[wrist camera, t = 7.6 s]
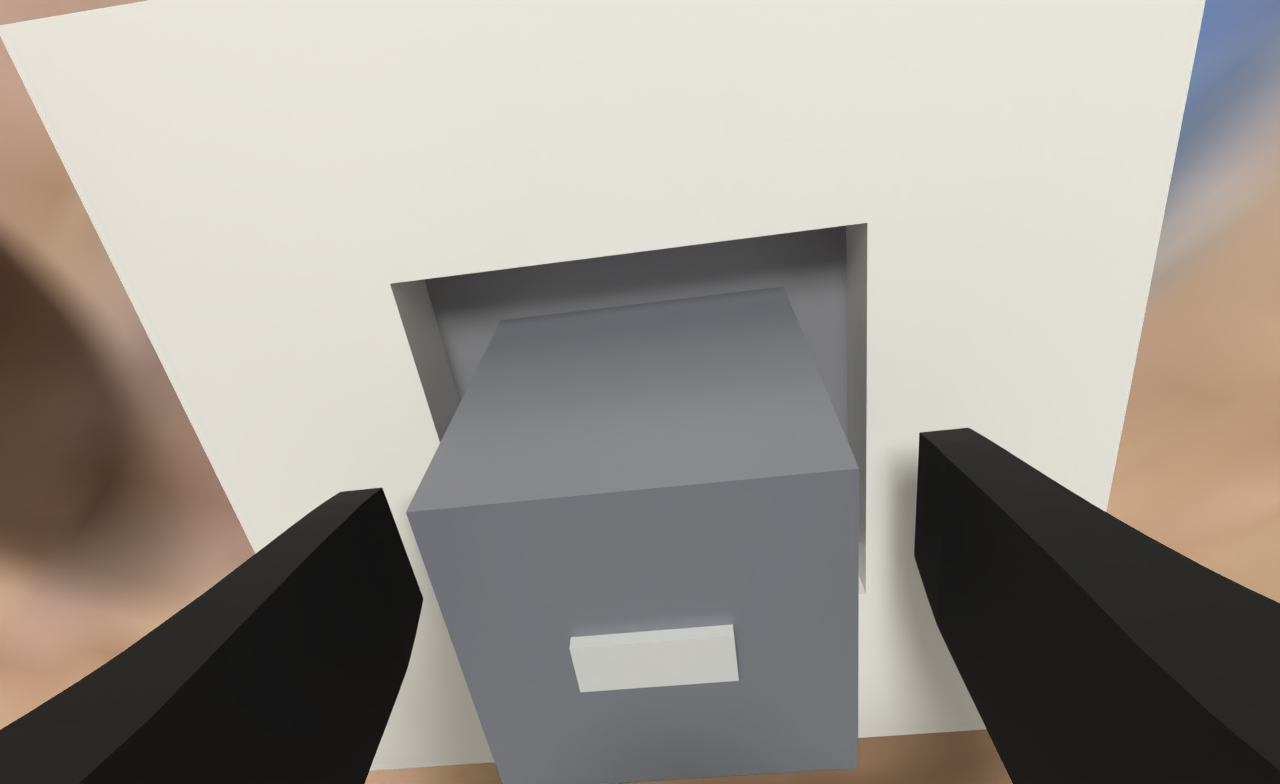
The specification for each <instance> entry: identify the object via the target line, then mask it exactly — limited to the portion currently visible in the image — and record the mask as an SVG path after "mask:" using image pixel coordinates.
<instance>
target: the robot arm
mask: <svg viewBox="0 0 1280 784" xmlns="http://www.w3.org/2000/svg"><path fill="white" fill-rule="evenodd" d="M914 557H915V561H916V564H917V567H918V570H919V573H920V576H921V579H922V583H923V586H924V589H925V592H926V595H927V598H928V601H929V604H930V607H931V609H932V612H933V615H934V618H935V621H936V624H937V626H938V629H939V631H940V633H941V635H942V637H943V639H944V641H945V644H946V646H947V648H948V650H949V652H950V654H951V656H952V658H953V660H954V662H955V665H956V667H957V669H958V671H959V673H960V675H961V677H962V679H963V681H964V683H965V686H966V688H967V690H968V692H969V694H970V696H971V698H972V700H973V702H974V704H975V706H976V708H977V710H978V712H979V714H980V716H981V719H982V721H983V723H984V725H985V727H986V729H987V731H988V733H989V735H990V737H991V739H992V741H993V743H994V745H995V747H996V749H997V752H998V754H999V756H1000V758H1001V760H1002V762H1003V764H1004V766H1005V768H1006V770H1007V772H1008V774H1009V776H1010V778H1011V780H1012V783H1013V784H1280V603H1278V602H1276V601H1274V600H1271V599H1269V598H1267V597H1265V596H1263V595H1261V594H1259V593H1256V592H1254V591H1252V590H1250V589H1248V588H1246V587H1244V586H1242V585H1240V584H1238V583H1236V582H1234V581H1232V580H1230V579H1227V578H1225V577H1223V576H1221V575H1219V574H1217V573H1215V572H1213V571H1212V570H1210V569H1208V568H1206V567H1204V566H1202V565H1200V564H1198V563H1196V562H1195V561H1193V560H1191V559H1189V558H1187V557H1185V556H1183V555H1182V554H1180V553H1178V552H1176V551H1174V550H1172V549H1170V548H1169V547H1167V546H1165V545H1163V544H1161V543H1159V542H1157V541H1156V540H1154V539H1152V538H1150V537H1148V536H1146V535H1145V534H1143V533H1141V532H1139V531H1138V530H1136V529H1134V528H1132V527H1131V526H1129V525H1127V524H1125V523H1124V522H1122V521H1120V520H1118V519H1117V518H1115V517H1113V516H1112V515H1110V514H1108V513H1107V512H1105V511H1103V510H1101V509H1100V508H1098V507H1096V506H1095V505H1093V504H1091V503H1090V502H1088V501H1087V500H1085V499H1083V498H1082V497H1080V496H1078V495H1077V494H1075V493H1073V492H1072V491H1070V490H1069V489H1067V488H1065V487H1064V486H1062V485H1061V484H1059V483H1057V482H1056V481H1054V480H1052V479H1051V478H1049V477H1048V476H1046V475H1045V474H1043V473H1041V472H1040V471H1038V470H1037V469H1035V468H1034V467H1032V466H1030V465H1029V464H1027V463H1026V462H1024V461H1022V460H1021V459H1019V458H1018V457H1016V456H1015V455H1013V454H1011V453H1010V452H1008V451H1007V450H1005V449H1004V448H1002V447H1000V446H999V445H997V444H996V443H994V442H992V441H991V440H989V439H987V438H986V437H984V436H982V435H981V434H979V433H977V432H976V431H974V430H972V429H970V428H959V429H949V430H939V431H930V432H920V433H919V454H918V476H917V499H916V522H915V544H914ZM422 604H423V596H422V593H421V591H420V588H419V585H418V583H417V580H416V577H415V575H414V572H413V569H412V566H411V564H410V561H409V558H408V556H407V553H406V550H405V547H404V545H403V542H402V539H401V537H400V534H399V531H398V529H397V526H396V523H395V520H394V518H393V515H392V512H391V510H390V507H389V504H388V501H387V499H386V496H385V493H384V491H383V488H372V489H363V490H353V491H343V492H339V493H338V494H336V495H334V496H333V497H331V498H330V499H328V500H327V501H325V502H324V503H322V504H321V505H319V506H318V507H316V508H315V509H314V510H312V511H311V512H310V513H308V514H307V515H306V516H304V517H303V518H302V519H300V520H299V521H297V522H296V523H295V524H294V525H292V526H291V527H290V528H288V529H287V530H286V531H284V532H283V533H282V534H280V535H279V536H278V537H277V538H275V539H274V540H273V541H271V542H270V543H269V544H268V545H266V546H265V547H264V548H262V549H261V550H260V551H258V552H257V553H256V554H255V555H253V556H252V557H251V558H249V559H248V560H247V561H246V562H244V563H243V564H242V565H240V566H239V567H238V568H236V569H235V570H234V571H233V572H231V573H230V574H229V575H227V576H226V577H225V578H223V579H222V580H221V581H220V582H218V583H217V584H216V585H214V586H213V587H212V588H210V589H209V590H208V591H206V592H205V593H204V594H202V595H201V596H200V597H198V598H197V599H195V600H194V601H193V602H191V603H190V604H189V605H187V606H186V607H184V608H183V609H182V610H180V611H179V612H178V613H176V614H175V615H173V616H172V617H171V618H169V619H168V620H166V621H165V622H164V623H162V624H161V625H160V626H158V627H157V628H155V629H154V630H153V631H151V632H150V633H148V634H147V635H146V636H144V637H143V638H142V639H140V640H139V641H137V642H136V643H135V644H133V645H132V646H130V647H129V648H128V649H126V650H125V651H123V652H122V653H120V654H119V655H117V656H116V657H115V658H113V659H112V660H110V661H109V662H107V663H106V664H104V665H103V666H101V667H100V668H98V669H97V670H95V671H94V672H92V673H91V674H89V675H88V676H86V677H85V678H83V679H82V680H80V681H78V682H77V683H75V684H74V685H72V686H71V687H69V688H67V689H66V690H64V691H63V692H61V693H59V694H58V695H56V696H55V697H53V698H51V699H50V700H48V701H47V702H45V703H43V704H42V705H40V706H39V707H37V708H36V709H34V710H32V711H31V712H29V713H28V714H26V715H24V716H23V717H21V718H19V719H18V720H16V721H14V722H13V723H11V724H9V725H8V726H6V727H4V728H3V729H1V730H0V784H364V783H365V781H366V778H367V775H368V773H369V770H370V767H371V765H372V762H373V760H374V757H375V754H376V752H377V749H378V747H379V744H380V741H381V739H382V736H383V733H384V731H385V728H386V726H387V723H388V720H389V718H390V715H391V712H392V710H393V707H394V704H395V702H396V699H397V696H398V693H399V691H400V688H401V685H402V683H403V680H404V677H405V674H406V671H407V669H408V665H409V661H410V657H411V653H412V649H413V645H414V641H415V637H416V632H417V628H418V623H419V618H420V613H421V609H422Z"/></svg>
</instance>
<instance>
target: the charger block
mask: <svg viewBox="0 0 1280 784" xmlns="http://www.w3.org/2000/svg"><path fill="white" fill-rule="evenodd" d="M406 514H407V517H408V520H409V523H410V526H411V528H412V531H413V534H414V537H415V540H416V543H417V545H418V548H419V551H420V554H421V557H422V559H423V562H424V565H425V568H426V571H427V573H428V576H429V579H430V582H431V585H432V588H433V590H434V593H435V596H436V599H437V602H438V604H439V607H440V610H441V613H442V616H443V619H444V621H445V624H446V627H447V630H448V633H449V635H450V638H451V641H452V644H453V647H454V649H455V652H456V655H457V658H458V661H459V664H460V666H461V669H462V672H463V675H464V678H465V680H466V683H467V686H468V689H469V692H470V695H471V697H472V700H473V703H474V706H475V709H476V711H477V714H478V717H479V720H480V723H481V725H482V728H483V731H484V734H485V737H486V740H487V742H488V745H489V748H490V751H491V754H492V756H493V759H494V762H495V765H496V768H497V771H498V773H499V776H500V779H501V782H502V784H613V783H629V782H645V781H662V780H678V779H694V778H710V777H726V776H742V775H759V774H775V773H791V772H807V771H823V770H840V769H856V768H858V623H859V468H858V465H857V463H856V460H855V458H854V456H853V453H852V451H851V448H850V446H849V444H848V441H847V439H846V436H845V434H844V431H843V429H842V427H841V424H840V422H839V419H838V417H837V415H836V412H835V410H834V407H833V405H832V403H831V400H830V398H829V395H828V393H827V390H826V388H825V386H824V383H823V381H822V378H821V376H820V374H819V371H818V369H817V366H816V364H815V362H814V359H813V357H812V354H811V352H810V349H809V347H808V345H807V342H806V340H805V337H804V335H803V333H802V330H801V328H800V325H799V323H798V321H797V318H796V316H795V313H794V311H793V308H792V306H791V304H790V301H789V299H788V296H787V294H786V292H785V289H784V287H776V288H767V289H759V290H750V291H742V292H734V293H725V294H717V295H708V296H700V297H692V298H683V299H675V300H666V301H658V302H650V303H641V304H633V305H624V306H616V307H608V308H599V309H591V310H582V311H574V312H566V313H557V314H549V315H540V316H532V317H524V318H515V319H507V320H501V321H500V323H499V325H498V327H497V329H496V331H495V333H494V335H493V337H492V339H491V341H490V343H489V345H488V347H487V349H486V351H485V353H484V355H483V357H482V359H481V361H480V363H479V366H478V368H477V370H476V372H475V374H474V376H473V378H472V380H471V382H470V384H469V386H468V388H467V390H466V392H465V394H464V396H463V398H462V400H461V402H460V404H459V406H458V408H457V410H456V412H455V414H454V416H453V418H452V420H451V422H450V424H449V426H448V428H447V430H446V432H445V434H444V436H443V438H442V440H441V442H440V444H439V446H438V448H437V450H436V452H435V454H434V456H433V458H432V460H431V462H430V464H429V466H428V469H427V471H426V473H425V475H424V477H423V479H422V481H421V483H420V485H419V487H418V489H417V491H416V493H415V495H414V497H413V499H412V501H411V503H410V505H409V507H408V509H407V511H406Z"/></svg>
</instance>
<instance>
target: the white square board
mask: <svg viewBox="0 0 1280 784" xmlns="http://www.w3.org/2000/svg"><path fill="white" fill-rule="evenodd" d="M1205 1H1206V0H148V1H143V2H137V3H131V4H125V5H119V6H113V7H107V8H101V9H95V10H89V11H83V12H77V13H71V14H65V15H59V16H53V17H47V18H42V19H36V20H30V21H24V22H18V23H12V24H6V25H0V37H1V39H2V41H3V43H4V45H5V47H6V49H7V51H8V53H9V55H10V57H11V59H12V61H13V63H14V65H15V67H16V69H17V71H18V73H19V75H20V77H21V79H22V81H23V83H24V85H25V87H26V89H27V91H28V93H29V95H30V97H31V100H32V102H33V104H34V106H35V108H36V110H37V112H38V114H39V116H40V118H41V120H42V122H43V124H44V126H45V128H46V130H47V132H48V134H49V136H50V138H51V140H52V142H53V144H54V146H55V148H56V150H57V152H58V154H59V156H60V158H61V160H62V162H63V164H64V166H65V168H66V170H67V172H68V175H69V177H70V179H71V181H72V183H73V185H74V187H75V189H76V191H77V193H78V195H79V197H80V199H81V201H82V203H83V205H84V207H85V209H86V211H87V213H88V215H89V217H90V219H91V221H92V223H93V225H94V227H95V229H96V231H97V233H98V235H99V237H100V239H101V241H102V243H103V245H104V248H105V250H106V252H107V254H108V256H109V258H110V260H111V262H112V264H113V266H114V268H115V270H116V272H117V274H118V276H119V278H120V280H121V282H122V284H123V286H124V288H125V290H126V292H127V294H128V296H129V298H130V300H131V302H132V304H133V306H134V308H135V310H136V312H137V314H138V316H139V318H140V321H141V323H142V325H143V327H144V329H145V331H146V333H147V335H148V337H149V339H150V341H151V343H152V345H153V347H154V349H155V351H156V353H157V355H158V357H159V359H160V361H161V363H162V365H163V367H164V369H165V371H166V373H167V375H168V377H169V379H170V381H171V383H172V385H173V387H174V389H175V391H176V393H177V396H178V398H179V400H180V402H181V404H182V406H183V408H184V410H185V412H186V414H187V416H188V418H189V420H190V422H191V424H192V426H193V428H194V430H195V432H196V434H197V436H198V438H199V440H200V442H201V444H202V446H203V448H204V450H205V452H206V454H207V456H208V458H209V460H210V462H211V464H212V466H213V469H214V471H215V473H216V475H217V477H218V479H219V481H220V483H221V485H222V487H223V489H224V491H225V493H226V495H227V497H228V499H229V501H230V503H231V505H232V507H233V509H234V511H235V513H236V515H237V517H238V519H239V521H240V523H241V525H242V527H243V529H244V531H245V533H246V535H247V537H248V539H249V542H250V544H251V546H252V548H253V550H254V552H255V554H256V553H257V552H258V551H260V550H261V549H262V548H264V547H265V546H266V545H268V544H269V543H270V542H271V541H273V540H274V539H275V538H277V537H278V536H279V535H280V534H282V533H283V532H284V531H286V530H287V529H288V528H290V527H291V526H292V525H294V524H295V523H296V522H297V521H299V520H300V519H302V518H303V517H304V516H306V515H307V514H308V513H310V512H311V511H312V510H314V509H315V508H316V507H318V506H319V505H321V504H322V503H324V502H325V501H327V500H328V499H330V498H331V497H333V496H334V495H336V494H338V493H339V492H343V491H353V490H363V489H372V488H383V491H384V493H385V496H386V499H387V501H388V504H389V507H390V510H391V512H392V515H393V518H394V520H395V523H396V526H397V529H398V531H399V534H400V537H401V539H402V542H403V545H404V547H405V550H406V553H407V556H408V558H409V561H410V564H411V566H412V569H413V572H414V575H415V577H416V580H417V583H418V585H419V588H420V591H421V593H422V596H423V604H422V609H421V613H420V618H419V623H418V628H417V632H416V637H415V641H414V645H413V649H412V653H411V657H410V661H409V665H408V669H407V671H406V674H405V677H404V680H403V683H402V685H401V688H400V691H399V693H398V696H397V699H396V702H395V704H394V707H393V710H392V712H391V715H390V718H389V720H388V723H387V726H386V728H385V731H384V733H383V736H382V739H381V741H380V744H379V747H378V749H377V752H376V754H375V757H374V760H373V762H372V765H371V767H370V770H369V771H373V770H388V769H403V768H418V767H433V766H448V765H463V764H477V763H492V762H494V759H493V756H492V754H491V751H490V748H489V745H488V742H487V740H486V737H485V734H484V731H483V728H482V725H481V723H480V720H479V717H478V714H477V711H476V709H475V706H474V703H473V700H472V697H471V695H470V692H469V689H468V686H467V683H466V680H465V678H464V675H463V672H462V669H461V666H460V664H459V661H458V658H457V655H456V652H455V649H454V647H453V644H452V641H451V638H450V635H449V633H448V630H447V627H446V624H445V621H444V619H443V616H442V613H441V610H440V607H439V604H438V602H437V599H436V596H435V593H434V590H433V588H432V585H431V582H430V579H429V576H428V573H427V571H426V568H425V565H424V562H423V559H422V557H421V554H420V551H419V548H418V545H417V543H416V540H415V537H414V534H413V531H412V528H411V526H410V523H409V520H408V517H407V514H406V511H407V509H408V507H409V505H410V503H411V501H412V499H413V497H414V495H415V493H416V491H417V489H418V487H419V485H420V483H421V481H422V479H423V477H424V475H425V473H426V471H427V469H428V466H429V464H430V462H431V460H432V458H433V456H434V454H435V452H436V450H437V448H438V446H439V444H440V442H441V440H442V438H443V436H444V434H445V432H446V430H447V428H448V426H449V424H450V422H451V420H452V418H453V416H454V414H455V412H456V410H457V408H458V406H459V404H460V402H461V400H462V398H463V396H464V394H465V392H466V390H467V388H468V386H469V384H470V382H471V380H472V378H473V376H474V374H475V372H476V370H477V368H478V366H479V363H480V361H481V359H482V357H483V355H484V353H485V351H486V349H487V347H488V345H489V343H490V341H491V339H492V337H493V335H494V333H495V331H496V329H497V327H498V325H499V323H500V321H501V320H507V319H515V318H524V317H532V316H540V315H549V314H557V313H566V312H574V311H582V310H591V309H599V308H608V307H616V306H624V305H633V304H641V303H650V302H658V301H666V300H675V299H683V298H692V297H700V296H708V295H717V294H725V293H734V292H742V291H750V290H759V289H767V288H776V287H784V289H785V292H786V294H787V296H788V299H789V301H790V304H791V306H792V308H793V311H794V313H795V316H796V318H797V321H798V323H799V325H800V328H801V330H802V333H803V335H804V337H805V340H806V342H807V345H808V347H809V349H810V352H811V354H812V357H813V359H814V362H815V364H816V366H817V369H818V371H819V374H820V376H821V378H822V381H823V383H824V386H825V388H826V390H827V393H828V395H829V398H830V400H831V403H832V405H833V407H834V410H835V412H836V415H837V417H838V419H839V422H840V424H841V427H842V429H843V431H844V434H845V436H846V439H847V441H848V444H849V446H850V448H851V451H852V453H853V456H854V458H855V460H856V463H857V465H858V468H859V623H858V738H865V737H880V736H895V735H910V734H925V733H940V732H955V731H970V730H984V729H986V727H985V725H984V723H983V721H982V719H981V716H980V714H979V712H978V710H977V708H976V706H975V704H974V702H973V700H972V698H971V696H970V694H969V692H968V690H967V688H966V686H965V683H964V681H963V679H962V677H961V675H960V673H959V671H958V669H957V667H956V665H955V662H954V660H953V658H952V656H951V654H950V652H949V650H948V648H947V646H946V644H945V641H944V639H943V637H942V635H941V633H940V631H939V629H938V626H937V624H936V621H935V618H934V615H933V612H932V609H931V607H930V604H929V601H928V598H927V595H926V592H925V589H924V586H923V583H922V579H921V576H920V573H919V570H918V567H917V564H916V561H915V557H914V544H915V522H916V499H917V476H918V454H919V433H920V432H930V431H939V430H949V429H959V428H970V429H972V430H974V431H976V432H977V433H979V434H981V435H982V436H984V437H986V438H987V439H989V440H991V441H992V442H994V443H996V444H997V445H999V446H1000V447H1002V448H1004V449H1005V450H1007V451H1008V452H1010V453H1011V454H1013V455H1015V456H1016V457H1018V458H1019V459H1021V460H1022V461H1024V462H1026V463H1027V464H1029V465H1030V466H1032V467H1034V468H1035V469H1037V470H1038V471H1040V472H1041V473H1043V474H1045V475H1046V476H1048V477H1049V478H1051V479H1052V480H1054V481H1056V482H1057V483H1059V484H1061V485H1062V486H1064V487H1065V488H1067V489H1069V490H1070V491H1072V492H1073V493H1075V494H1077V495H1078V496H1080V497H1082V498H1083V499H1085V500H1087V501H1088V502H1090V503H1091V504H1093V505H1095V506H1096V507H1098V508H1100V509H1101V510H1103V511H1105V512H1106V510H1107V505H1108V500H1109V495H1110V490H1111V484H1112V479H1113V474H1114V469H1115V464H1116V459H1117V454H1118V448H1119V443H1120V438H1121V433H1122V428H1123V423H1124V418H1125V412H1126V407H1127V402H1128V397H1129V392H1130V387H1131V382H1132V376H1133V371H1134V366H1135V361H1136V356H1137V351H1138V345H1139V340H1140V335H1141V330H1142V325H1143V320H1144V315H1145V309H1146V304H1147V299H1148V294H1149V289H1150V284H1151V279H1152V273H1153V268H1154V263H1155V258H1156V253H1157V248H1158V243H1159V237H1160V232H1161V227H1162V222H1163V217H1164V212H1165V206H1166V201H1167V196H1168V191H1169V186H1170V181H1171V176H1172V170H1173V165H1174V160H1175V155H1176V150H1177V145H1178V140H1179V134H1180V129H1181V124H1182V119H1183V114H1184V109H1185V104H1186V98H1187V93H1188V88H1189V83H1190V78H1191V73H1192V67H1193V62H1194V57H1195V52H1196V47H1197V42H1198V37H1199V31H1200V26H1201V21H1202V16H1203V11H1204V6H1205Z"/></svg>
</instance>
